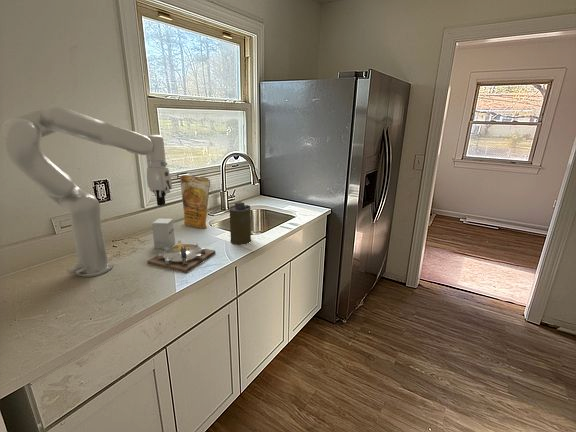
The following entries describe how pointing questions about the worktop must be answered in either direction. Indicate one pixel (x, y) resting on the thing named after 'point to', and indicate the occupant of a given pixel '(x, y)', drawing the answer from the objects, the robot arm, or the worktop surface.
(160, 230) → the supplement box
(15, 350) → the worktop surface
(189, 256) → the sprocket wheel
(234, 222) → the canister
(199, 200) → the pancake mix bag
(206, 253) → the walnut plinth
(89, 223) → the robot arm
